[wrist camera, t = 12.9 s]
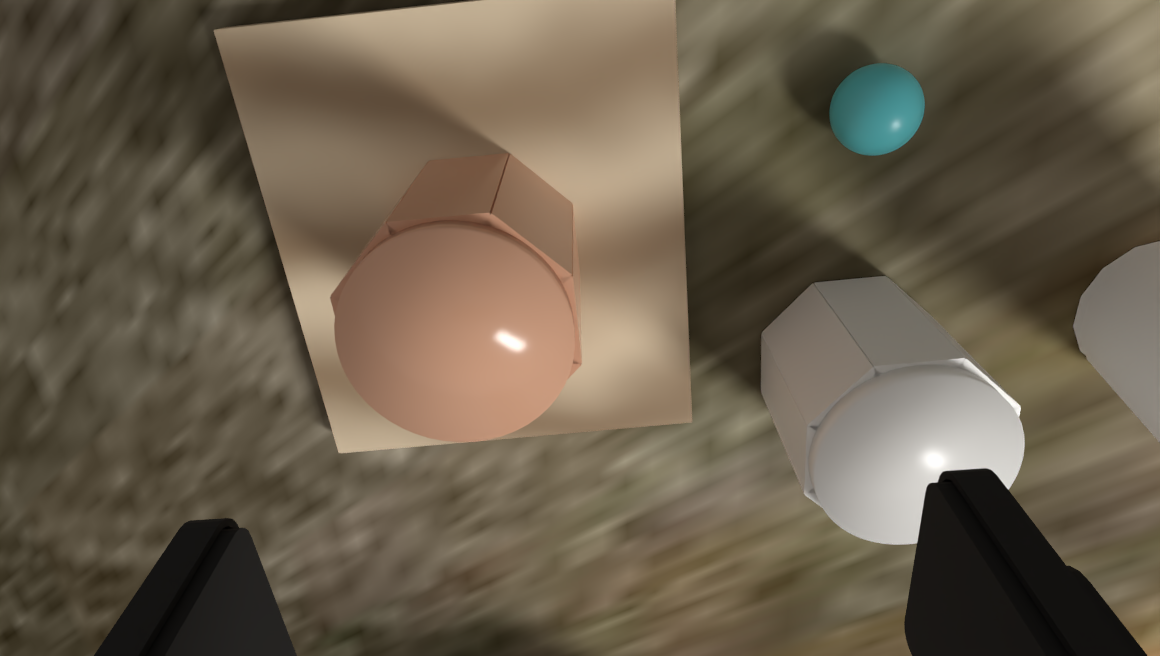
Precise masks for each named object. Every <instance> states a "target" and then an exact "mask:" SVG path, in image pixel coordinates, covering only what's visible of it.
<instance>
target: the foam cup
mask: <svg viewBox="0 0 1160 656" xmlns="http://www.w3.org/2000/svg"><path fill="white" fill-rule="evenodd" d="M1073 328H1074V331H1075V335H1076V338H1077V342H1078V345H1079V349H1080V351H1081V352H1082V353H1083V354H1085V355H1086V358H1087V360H1088V361H1089V362H1090V363H1091V365H1092V366H1093V367H1094V368H1095V369H1096V370H1097V371H1098V373H1099V374H1100V375H1101V376H1102V377H1103V378H1104V379H1105V381H1106V382H1107V383H1108V384H1109V385H1110V386H1111V387H1112V389H1113V390H1114V391H1115V392H1116V393H1117V394H1118V396H1119V397H1120V398H1121V399H1122V400H1123V401H1124V402H1125V404H1126V405H1127V406H1128V407H1129V408H1130V409H1131V410H1132V412H1133V413H1134V414H1135V415H1136V416H1137V417H1138V418H1139V420H1140V421H1141V422H1142V423H1143V424H1144V425H1145V426H1146V428H1147V429H1148V430H1149V431H1150V432H1151V433H1152V434H1153V436H1154V437H1155V438H1156V439H1157V440H1158V441H1159V442H1160V241H1158V242H1154V243H1150V244H1146V245H1142V246H1138V247H1135V248H1133V249H1132V250H1130V251H1129V252H1127V253H1125V254H1124V255H1122V256H1121V257H1119V258H1118V259H1116V260H1115V261H1113V262H1112V263H1110V264H1109V265H1107V266H1106V267H1104V268H1103V269H1102V270H1101V271H1100V273H1099V274H1098V275H1097V276H1096V278H1095V279H1094V280H1093V282H1092V283H1091V284H1090V285H1089V287H1088V288H1087V289H1086V291H1085V292H1084V293H1083V294H1082V296H1081V298H1080V302H1079V305H1078V309H1077V313H1076V317H1075V320H1074V324H1073Z"/></svg>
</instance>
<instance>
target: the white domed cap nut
mask: <svg viewBox="0 0 1160 656" xmlns="http://www.w3.org/2000/svg"><path fill="white" fill-rule="evenodd" d="M761 394H762V396H763V398H764V401H765V403H766V405H767V408H768V410H769V412H770V415H771V417H772V420H773V422H774V424H775V427H776V429H777V431H778V434H779V436H780V438H781V441H782V443H783V445H784V448H785V450H786V452H787V455H788V457H789V459H790V462H791V464H792V466H793V469H794V471H795V473H796V476H797V478H798V481H799V483H800V485H801V488H802V490H803V492H804V494H805V495H806V496H807V497H808V498H810V499H811V500H812V501H814V502H815V503H817V504H818V505H819V506H821V507H822V508H823V509H824V511H825V512H826V514H827V515H828V516H829V517H830V518H831V519H832V521H833V522H835V523H836V524H837V525H838V526H839V527H841V528H842V529H844V530H845V531H847V532H849V533H850V534H852V535H855V536H857V537H859V538H862V539H865V540H868V541H872V542H877V543H883V544H896V545H897V544H913V543H917V541H918V535H919V529H920V523H921V517H922V510H923V504H924V498H925V492H926V488H927V486H928V484H929V483H936V482H938V479H939V476H940V475H941V473H942V472H944V471H951V470H966V469H981V468H988V469H990V470H992V471H993V472H994V473H995V474H996V475H997V476H998V477H999V479H1000V480H1001V481H1002V482H1003V484H1004V485H1005V486H1006V488H1007V489H1008V490H1009V488H1010V487H1011V485H1012V483H1013V482H1014V480H1015V478H1016V476H1017V474H1018V472H1019V469H1020V467H1021V463H1022V459H1023V455H1024V446H1025V444H1024V432H1023V428H1022V424H1021V422H1020V419H1019V415H1020V410H1021V407H1020V405H1019V404H1018V403H1017V402H1016V401H1015V400H1014V399H1013V398H1012V397H1011V396H1010V395H1009V394H1008V393H1007V392H1006V391H1005V390H1004V389H1003V388H1002V387H1001V386H1000V385H999V384H998V383H997V382H996V381H995V380H994V379H993V378H992V377H991V376H990V375H989V374H988V373H987V372H986V371H985V370H984V369H983V368H982V367H981V366H980V365H979V364H978V363H977V361H976V360H975V359H974V358H973V357H972V356H971V355H970V354H969V353H968V352H967V351H966V350H965V349H964V348H963V347H962V346H961V345H960V344H959V343H958V342H957V341H956V340H955V339H954V338H953V337H952V336H951V335H950V334H949V333H948V332H947V331H946V330H945V329H944V328H943V327H942V326H941V325H940V324H939V323H938V322H937V321H936V320H935V319H934V318H933V317H932V316H931V315H930V314H929V313H928V312H927V311H925V310H924V309H923V308H922V307H921V306H920V305H919V304H918V303H916V302H915V301H914V300H913V299H912V298H911V297H910V296H909V295H907V294H906V293H905V292H904V291H903V290H902V289H901V288H900V287H898V286H897V285H896V284H895V283H894V282H893V281H892V280H891V279H889V278H888V277H887V276H878V277H867V278H857V279H846V280H835V281H825V282H814V284H813V283H812V284H811V285H810V286H809V287H808V288H807V289H806V290H805V291H804V292H803V293H802V294H801V295H800V296H799V297H798V298H797V299H796V300H795V301H794V302H793V303H791V304H790V305H789V306H788V307H787V308H786V309H785V310H784V311H783V312H782V313H781V314H780V315H779V316H778V317H777V318H776V319H775V320H774V321H773V322H772V323H771V324H770V325H769V326H768V327H767V328H766V329H765V330H764V331H763V332H762V333H761Z"/></svg>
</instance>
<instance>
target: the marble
mask: <svg viewBox="0 0 1160 656" xmlns="http://www.w3.org/2000/svg"><path fill="white" fill-rule="evenodd" d="M924 110H925V100H924V95H923V91H922V88H921V86H920V84H919V83H918V81H917V80H916V79H915V77H914V76H913V75H912V74H911V73H910V72H908V71H907V70H905V69H903V68H902V67H899V66H897V65H893V64H887V63H876V64H871V65H867V66H864V67H861V68H859V69H857V70H856V71H854V72H852V73H851V74H850V75H848V76H847V77H846V78H845V79H844V80H843V81H842V82H841V83H840V85H839V86H838V88H837V89H836V91H835V93H834V95H833V97H832V100H831V104H830V111H829V118H830V124H831V127H832V130H833V132H834V134H835V136H836V138H837V139H838V140H839V141H840V142H841V144H842V145H844V146H845V147H846V148H848V149H849V150H851V151H853V152H856V153H858V154H862V155H870V156H876V155H883V154H886V153H890V152H892V151H894V150H896V149H898V148H900V147H901V146H903V145H904V144H905V143H907V142H908V141H909V140H910V139H911V138H912V137H913V135H914V134H915V133H916V131H917V130H918V128H919V126H920V124H921V122H922V119H923V115H924Z"/></svg>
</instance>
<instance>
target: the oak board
mask: <svg viewBox="0 0 1160 656" xmlns="http://www.w3.org/2000/svg"><path fill="white" fill-rule="evenodd" d="M214 34H215V37H216V40H217V44H218V47H219V50H220V54H221V57H222V61H223V64H224V67H225V71H226V74H227V77H228V81H229V84H230V88H231V91H232V94H233V98H234V101H235V104H236V108H237V111H238V114H239V118H240V121H241V125H242V128H243V131H244V135H245V138H246V141H247V145H248V148H249V152H250V155H251V158H252V162H253V165H254V168H255V172H256V175H257V179H258V182H259V185H260V189H261V192H262V195H263V199H264V202H265V206H266V209H267V212H268V216H269V219H270V222H271V226H272V229H273V233H274V236H275V239H276V243H277V246H278V249H279V253H280V256H281V259H282V263H283V266H284V270H285V273H286V276H287V280H288V283H289V286H290V290H291V293H292V297H293V300H294V303H295V307H296V310H297V313H298V317H299V320H300V324H301V327H302V330H303V334H304V337H305V340H306V344H307V347H308V351H309V354H310V357H311V361H312V364H313V367H314V371H315V374H316V377H317V381H318V384H319V388H320V391H321V394H322V398H323V401H324V404H325V408H326V411H327V415H328V418H329V421H330V425H331V428H332V431H333V435H334V438H335V442H336V445H337V448H338V452H339V453H349V452H360V451H372V450H383V449H395V448H406V447H417V446H429V445H440V444H451V443H463V442H450V441H442V440H436V439H431V438H427V437H424V436H421V435H418V434H415V433H412V432H410V431H408V430H405V429H403V428H401V427H399V426H397V425H396V424H394V423H392V422H390V421H388V420H387V419H386V418H384V417H383V416H382V415H380V414H379V413H377V412H376V411H375V410H374V409H373V408H372V407H371V406H370V405H368V404H367V403H366V402H365V401H364V399H363V398H362V397H361V396H360V395H359V394H358V393H357V391H356V390H355V388H354V387H353V385H352V384H351V383H350V381H349V380H348V378H347V376H346V374H345V372H344V370H343V368H342V365H341V362H340V359H339V356H338V354H337V349H336V343H335V334H334V322H335V315H334V311H333V307H332V303H331V300H330V297H331V294H332V293H333V291H334V290H335V289H336V287H337V286H338V284H339V283H340V281H341V280H342V279H343V277H344V276H345V274H346V273H347V272H348V270H349V269H350V267H351V266H352V265H353V263H354V262H355V260H356V259H357V257H358V256H359V255H360V253H361V252H362V250H363V249H364V248H365V246H366V245H367V243H368V242H369V241H370V239H371V238H372V236H373V235H374V233H375V232H376V231H377V229H378V228H379V226H380V225H381V224H382V222H383V221H384V219H385V218H386V217H387V215H388V214H389V213H390V211H391V210H392V209H393V207H394V206H395V205H396V203H397V202H398V201H399V199H400V198H401V197H402V195H403V194H404V193H405V191H406V190H407V189H408V187H409V186H410V185H411V183H412V182H413V181H414V179H415V178H416V177H417V175H418V174H419V173H420V171H421V170H422V169H423V167H424V166H425V164H426V163H427V162H429V160H439V159H450V158H461V157H471V156H482V155H493V154H503V153H509V155H510V154H512V155H513V156H514V157H515V158H517V159H518V160H519V161H520V162H522V163H523V164H524V165H525V166H527V167H528V168H529V169H530V170H532V171H533V172H534V173H535V174H537V175H538V176H539V177H540V178H542V179H543V180H544V181H545V182H547V183H548V184H549V185H550V186H552V187H553V188H554V189H555V190H557V191H558V192H559V193H560V194H562V195H563V196H564V197H565V198H567V199H568V200H569V201H570V202H572V205H573V209H574V219H575V229H576V239H577V249H578V259H579V269H580V291H581V340H582V363H581V366H580V367H579V368H578V369H577V370H576V371H575V372H574V373H573V374H572V375H571V376H570V378H569V379H568V380H567V381H566V383H565V386H564V387H563V389H562V391H561V392H560V394H559V396H558V397H557V398H556V400H555V401H554V402H553V403H552V404H551V406H550V407H549V408H548V409H547V410H546V411H545V412H544V413H542V414H541V415H540V416H539V417H538V418H536V419H535V420H534V421H532V422H531V423H529V424H528V425H526V426H524V427H522V428H520V429H519V430H517V431H515V432H512V433H509V434H507V435H504V436H501V437H497V438H493V439H490V440H497V439H508V438H519V437H531V436H542V435H554V434H565V433H576V432H588V431H599V430H610V429H622V428H633V427H644V426H656V425H667V424H678V423H690V422H692V403H691V378H690V354H689V329H688V304H687V279H686V254H685V230H684V205H683V180H682V155H681V130H680V106H679V81H678V56H677V31H676V6H675V0H467V1H458V2H449V3H440V4H431V5H422V6H413V7H404V8H395V9H386V10H377V11H367V12H358V13H349V14H340V15H331V16H322V17H313V18H304V19H295V20H286V21H277V22H268V23H259V24H250V25H241V26H232V27H225V28H220V29H216V30H214ZM484 441H485V440H484Z"/></svg>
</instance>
